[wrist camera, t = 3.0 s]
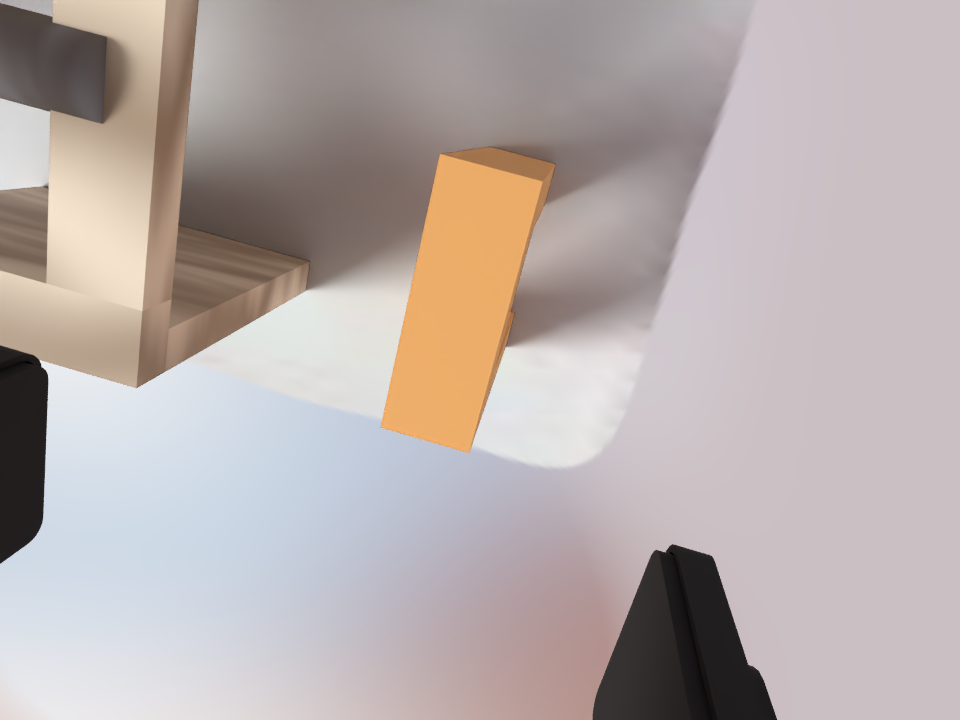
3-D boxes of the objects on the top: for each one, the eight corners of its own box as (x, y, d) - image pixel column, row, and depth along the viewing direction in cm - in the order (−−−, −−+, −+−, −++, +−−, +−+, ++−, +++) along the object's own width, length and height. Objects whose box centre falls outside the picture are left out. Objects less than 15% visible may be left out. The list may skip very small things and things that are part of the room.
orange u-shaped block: (490, 146, 30) (439, 153, 19) (555, 164, 30) (542, 181, 19) (445, 330, 33) (380, 427, 22) (505, 347, 33) (469, 453, 22)
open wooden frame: (48, -186, 28) (-431, -474, 15) (369, -106, 27) (170, -331, 14) (40, 216, 34) (-310, 270, 21) (305, 290, 33) (121, 396, 20)
